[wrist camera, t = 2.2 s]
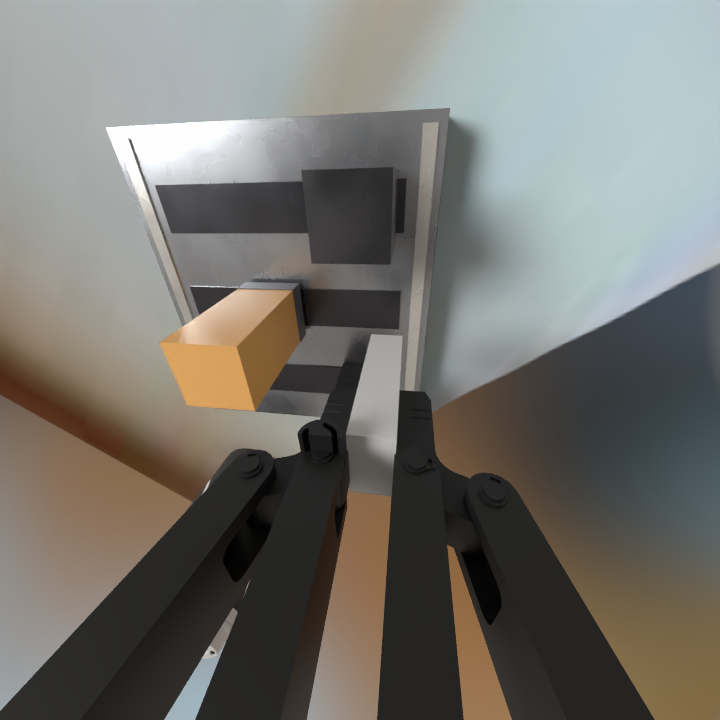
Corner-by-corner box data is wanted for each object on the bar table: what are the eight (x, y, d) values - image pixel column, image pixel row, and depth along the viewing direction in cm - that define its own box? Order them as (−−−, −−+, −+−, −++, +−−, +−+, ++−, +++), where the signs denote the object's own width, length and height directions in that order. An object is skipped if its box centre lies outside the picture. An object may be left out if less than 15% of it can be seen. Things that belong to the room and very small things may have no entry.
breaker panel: (135, 131, 18) (-6, 111, 12) (445, 115, 15) (468, 78, 9) (225, 394, 28) (176, 452, 22) (415, 408, 26) (417, 478, 20)
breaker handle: (245, 282, 19) (157, 341, 12) (299, 283, 19) (237, 345, 12) (257, 331, 21) (186, 405, 14) (306, 333, 21) (256, 411, 14)
